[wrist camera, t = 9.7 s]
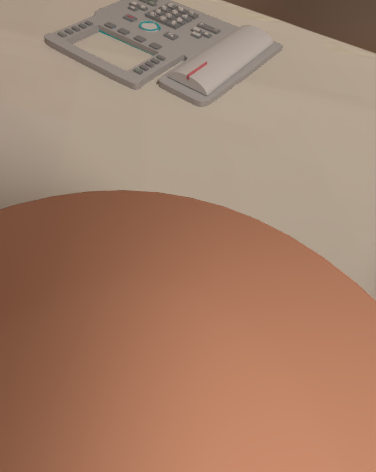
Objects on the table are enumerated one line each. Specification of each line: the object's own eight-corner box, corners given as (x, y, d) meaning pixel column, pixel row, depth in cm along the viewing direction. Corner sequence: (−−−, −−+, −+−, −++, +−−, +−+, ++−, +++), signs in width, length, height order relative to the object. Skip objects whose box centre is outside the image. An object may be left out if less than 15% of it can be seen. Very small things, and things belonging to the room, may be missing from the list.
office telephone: (288, 32, 34) (198, 104, 24) (280, 55, 36) (195, 128, 27) (145, -22, 39) (29, 19, 30) (146, 0, 42) (38, 45, 32)
